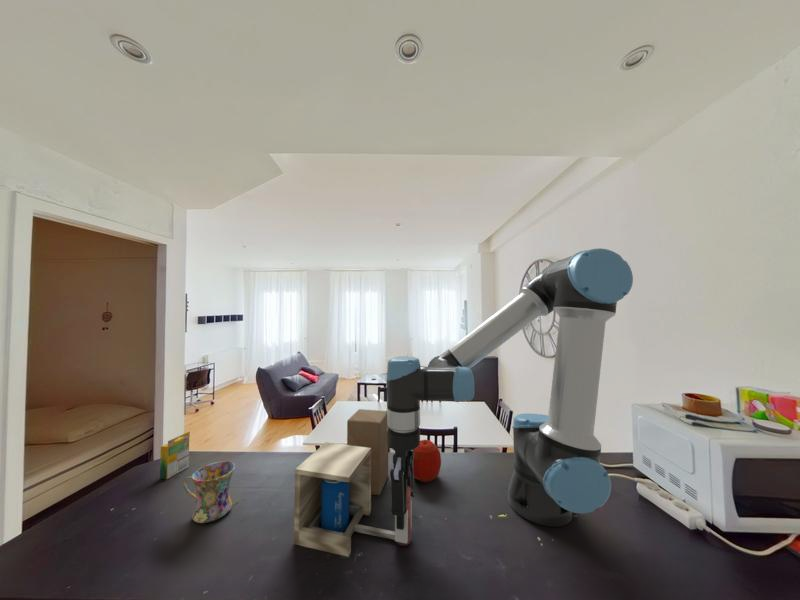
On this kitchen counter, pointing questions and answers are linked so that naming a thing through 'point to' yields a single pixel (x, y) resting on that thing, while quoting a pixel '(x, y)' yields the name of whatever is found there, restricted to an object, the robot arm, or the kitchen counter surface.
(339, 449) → the open wooden box
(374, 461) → the wooden block
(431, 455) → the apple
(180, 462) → the crayon box
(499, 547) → the kitchen counter surface
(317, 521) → the square frame pulling tool
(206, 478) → the mug
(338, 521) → the beverage can
